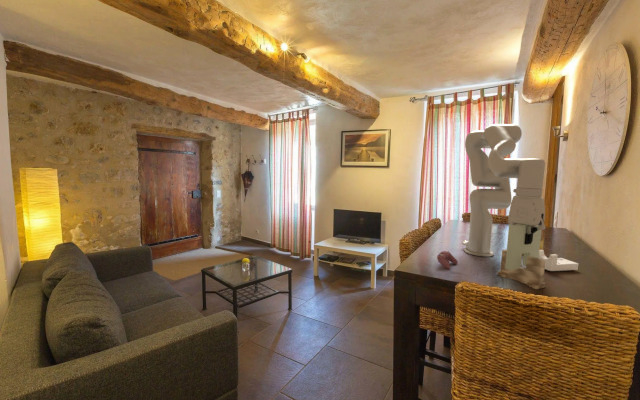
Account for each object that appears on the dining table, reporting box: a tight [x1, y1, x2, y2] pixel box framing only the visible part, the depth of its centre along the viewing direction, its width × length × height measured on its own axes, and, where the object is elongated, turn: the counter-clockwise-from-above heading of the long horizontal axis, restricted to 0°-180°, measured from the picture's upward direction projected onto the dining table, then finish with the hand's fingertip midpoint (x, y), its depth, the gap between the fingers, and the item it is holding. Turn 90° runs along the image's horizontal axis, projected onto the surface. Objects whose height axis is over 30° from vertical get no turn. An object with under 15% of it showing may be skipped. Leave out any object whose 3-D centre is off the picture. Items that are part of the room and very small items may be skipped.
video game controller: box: [436, 250, 458, 270], centre depth 123 cm, size 10×5×7 cm, turn 136°
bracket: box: [539, 249, 579, 272], centre depth 120 cm, size 13×7×8 cm, turn 99°
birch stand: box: [497, 248, 546, 290], centre depth 107 cm, size 14×5×10 cm, turn 24°
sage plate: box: [505, 224, 541, 270], centre depth 105 cm, size 2×16×16 cm, turn 114°
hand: (524, 242), depth 105 cm, fingers closed on sage plate, 2 cm apart
